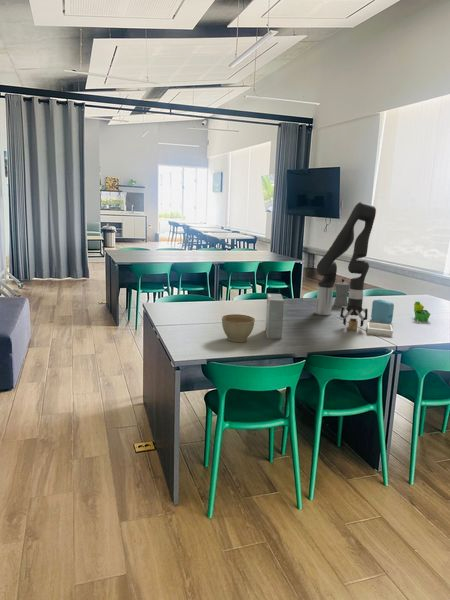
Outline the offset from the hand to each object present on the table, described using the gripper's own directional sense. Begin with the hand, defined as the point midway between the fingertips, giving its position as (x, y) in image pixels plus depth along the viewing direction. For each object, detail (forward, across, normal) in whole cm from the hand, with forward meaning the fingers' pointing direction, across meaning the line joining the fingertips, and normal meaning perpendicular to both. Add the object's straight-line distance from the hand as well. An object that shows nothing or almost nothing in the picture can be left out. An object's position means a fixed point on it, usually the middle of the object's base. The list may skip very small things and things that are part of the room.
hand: (352, 325), depth 252 cm
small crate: (+2, 0, 0) cm, 2 cm away
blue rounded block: (+2, -16, -25) cm, 30 cm away
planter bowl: (+2, +54, +44) cm, 70 cm away
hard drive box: (+2, +39, +28) cm, 48 cm away
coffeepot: (+2, +8, -59) cm, 60 cm away
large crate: (+2, -14, 0) cm, 14 cm away
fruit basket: (+2, -39, -39) cm, 55 cm away
